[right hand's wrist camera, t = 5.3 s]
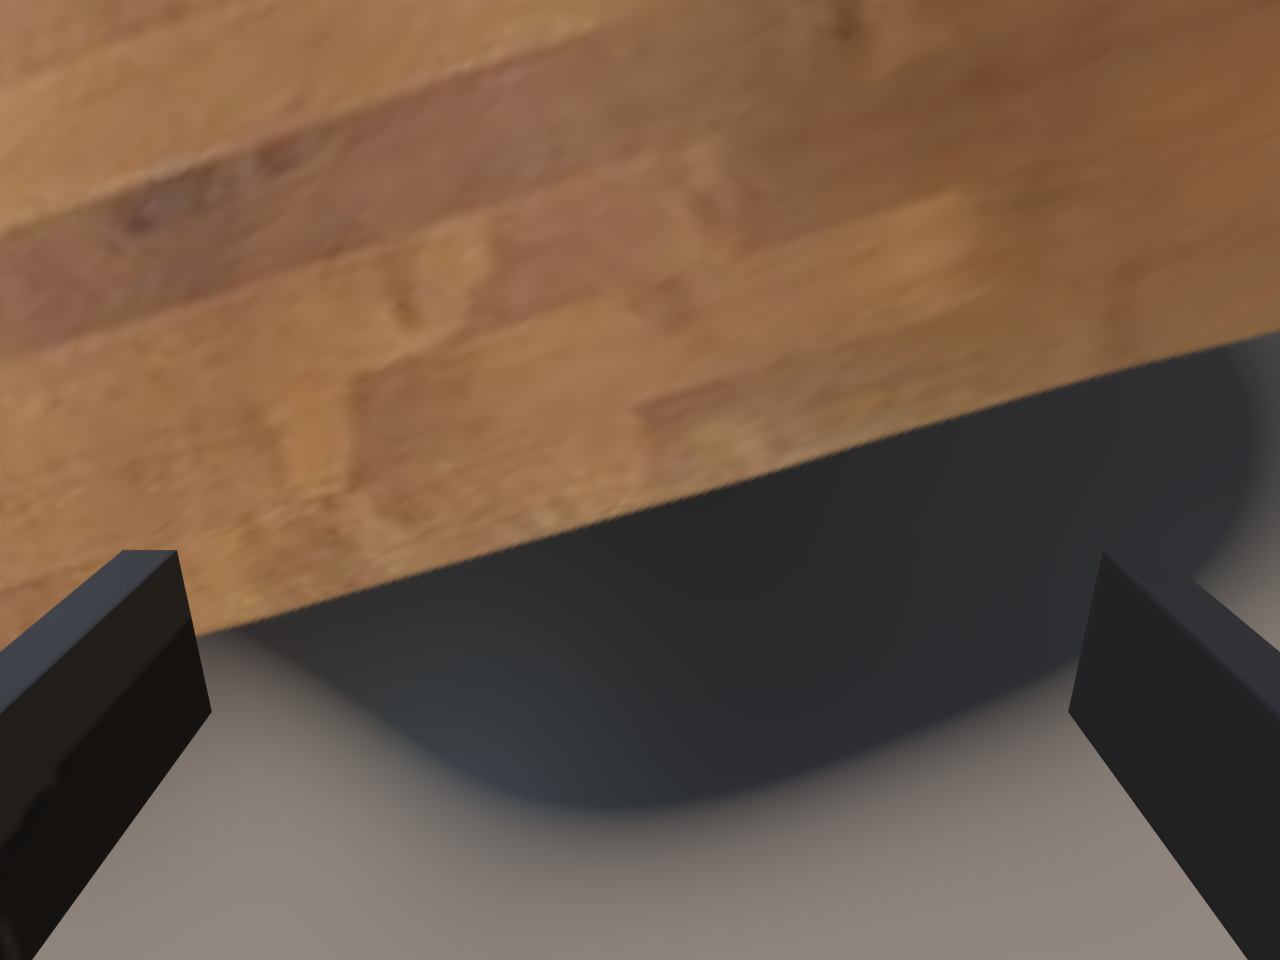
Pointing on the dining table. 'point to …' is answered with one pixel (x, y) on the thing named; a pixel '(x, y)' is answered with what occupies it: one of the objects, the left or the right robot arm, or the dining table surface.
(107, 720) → the right robot arm
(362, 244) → the dining table surface
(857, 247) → the dining table surface
